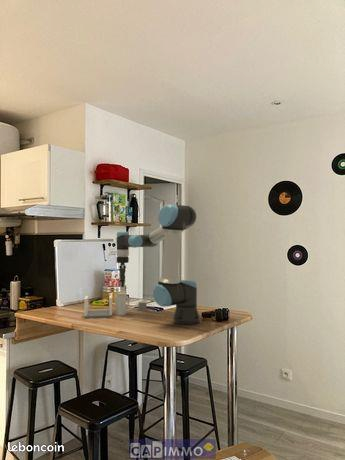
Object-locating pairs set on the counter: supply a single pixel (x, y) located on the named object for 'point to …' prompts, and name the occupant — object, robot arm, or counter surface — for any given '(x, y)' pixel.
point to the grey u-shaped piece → (97, 313)
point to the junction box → (142, 305)
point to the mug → (121, 304)
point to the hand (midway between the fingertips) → (122, 290)
